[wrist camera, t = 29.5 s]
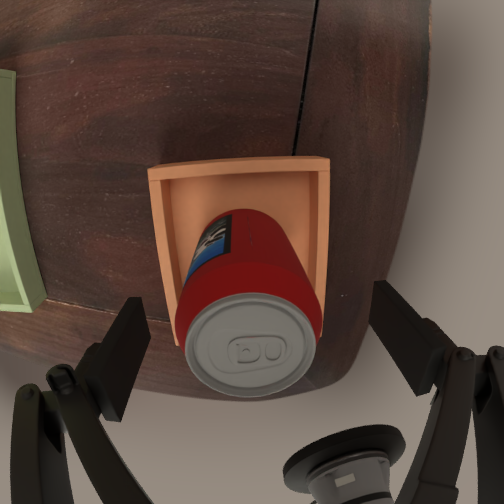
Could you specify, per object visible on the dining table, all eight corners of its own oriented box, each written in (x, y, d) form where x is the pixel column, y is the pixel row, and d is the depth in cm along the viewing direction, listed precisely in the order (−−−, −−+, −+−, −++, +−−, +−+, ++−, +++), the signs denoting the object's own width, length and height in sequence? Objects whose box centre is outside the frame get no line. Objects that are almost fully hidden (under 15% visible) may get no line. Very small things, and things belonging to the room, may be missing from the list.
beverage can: (194, 207, 22) (153, 283, 10) (288, 204, 22) (342, 275, 11) (202, 291, 24) (181, 407, 13) (286, 287, 24) (322, 400, 13)
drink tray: (313, 316, 26) (321, 336, 23) (181, 324, 26) (175, 345, 23) (317, 155, 21) (330, 158, 18) (158, 164, 21) (147, 168, 18)
